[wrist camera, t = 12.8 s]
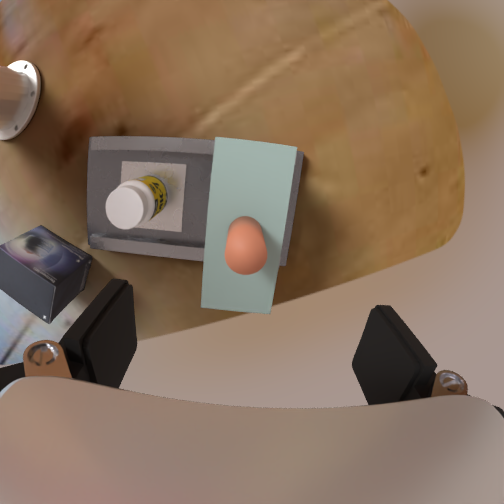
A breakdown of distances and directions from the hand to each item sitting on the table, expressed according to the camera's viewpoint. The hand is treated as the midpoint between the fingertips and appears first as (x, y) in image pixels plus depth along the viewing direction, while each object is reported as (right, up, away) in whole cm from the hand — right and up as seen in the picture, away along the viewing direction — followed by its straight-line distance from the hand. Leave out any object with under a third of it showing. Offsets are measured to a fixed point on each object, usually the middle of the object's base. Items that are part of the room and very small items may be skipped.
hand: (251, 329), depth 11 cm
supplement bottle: (-12, +10, +22) cm, 27 cm away
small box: (-28, +2, +26) cm, 38 cm away
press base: (-8, +10, +24) cm, 27 cm away
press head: (-1, +8, +22) cm, 23 cm away
